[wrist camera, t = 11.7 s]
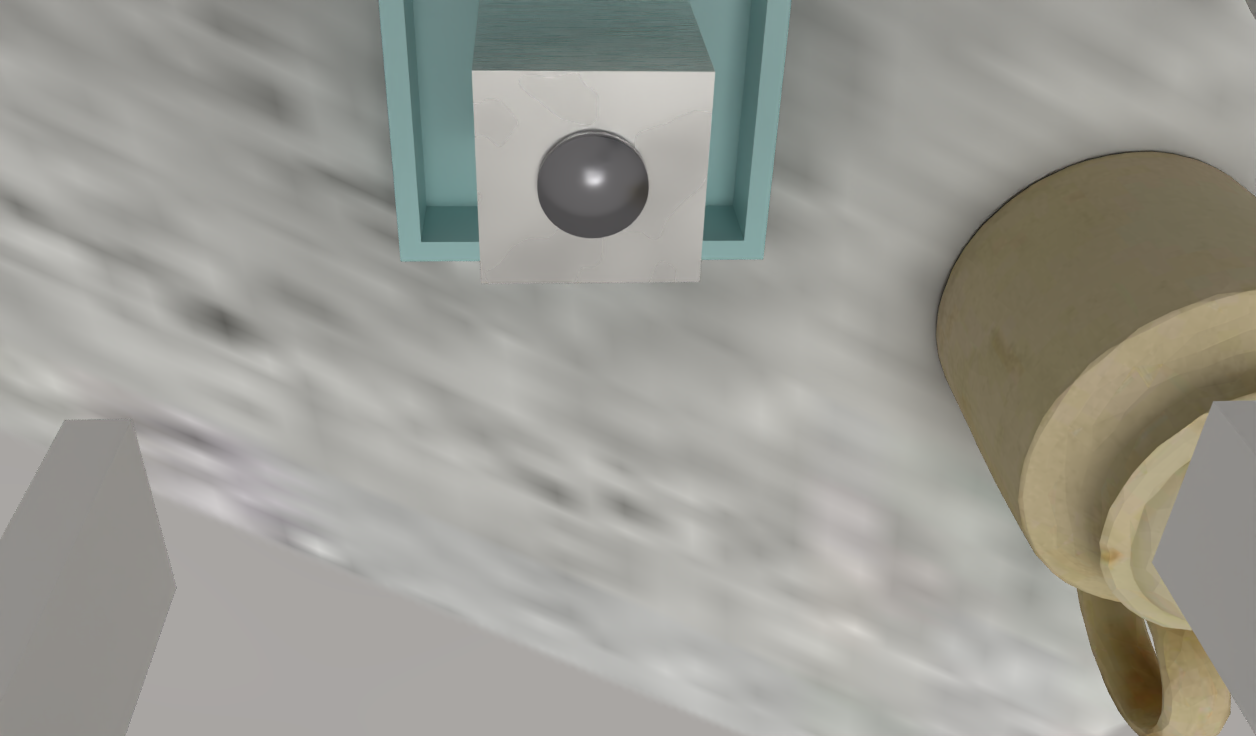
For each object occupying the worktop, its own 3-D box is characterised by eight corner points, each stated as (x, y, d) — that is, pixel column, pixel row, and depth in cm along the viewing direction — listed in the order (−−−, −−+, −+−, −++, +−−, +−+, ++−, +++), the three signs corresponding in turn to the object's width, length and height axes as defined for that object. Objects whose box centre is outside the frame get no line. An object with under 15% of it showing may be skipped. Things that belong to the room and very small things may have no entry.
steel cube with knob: (483, -39, 31) (471, 76, 24) (675, -37, 31) (717, 77, 24) (489, 141, 34) (480, 290, 27) (665, 141, 34) (700, 288, 27)
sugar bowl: (1321, 422, 43) (1648, 777, 30) (1029, 548, 45) (1220, 924, 33) (1224, 79, 35) (1610, 365, 22) (878, 254, 37) (1054, 599, 25)
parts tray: (380, -153, 30) (367, -128, 27) (783, -145, 30) (804, -120, 28) (408, 215, 35) (400, 261, 33) (748, 214, 36) (762, 259, 34)
